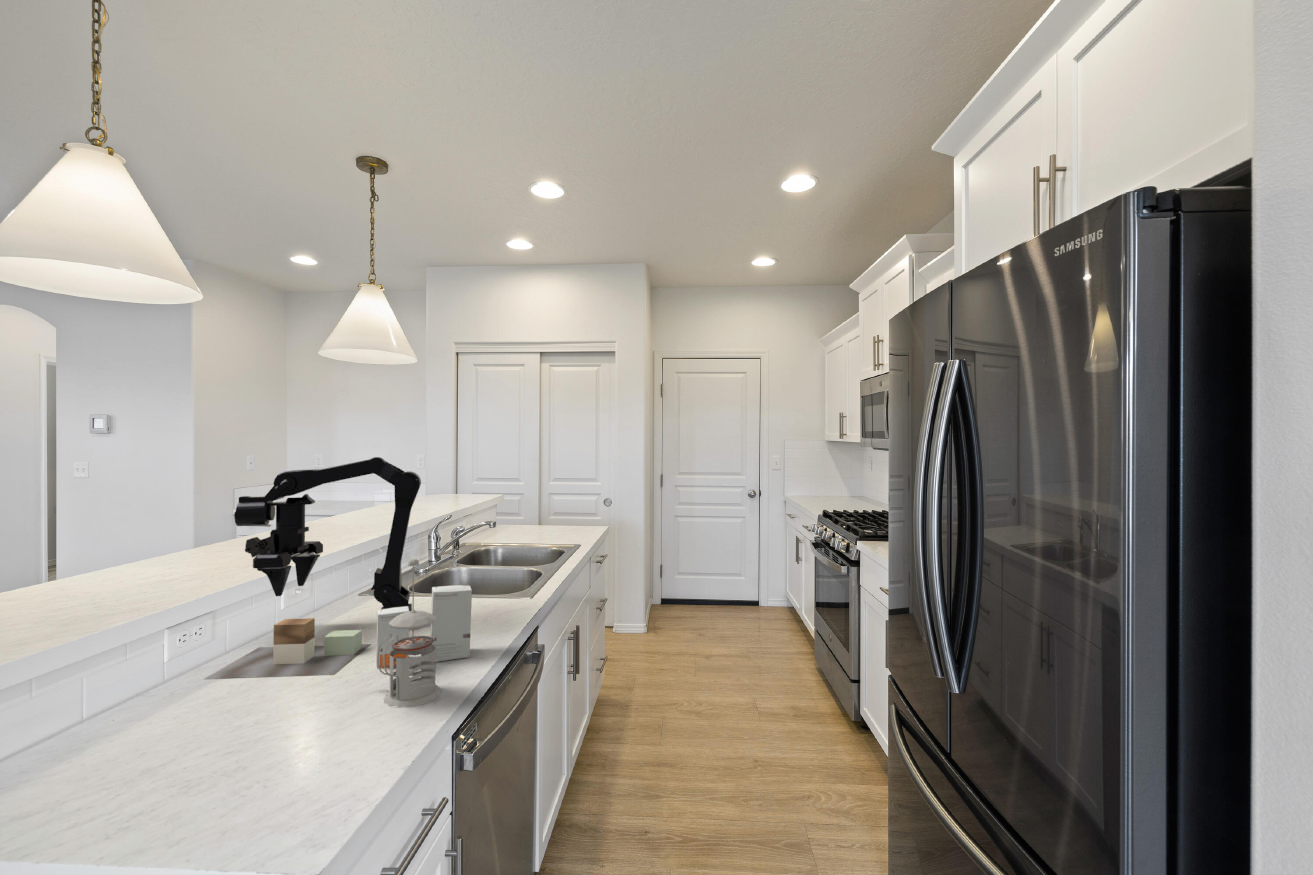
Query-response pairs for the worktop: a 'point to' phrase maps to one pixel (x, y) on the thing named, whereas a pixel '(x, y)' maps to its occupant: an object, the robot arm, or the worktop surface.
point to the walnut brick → (294, 631)
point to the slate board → (283, 665)
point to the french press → (411, 660)
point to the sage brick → (342, 642)
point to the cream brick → (293, 653)
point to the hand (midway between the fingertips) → (290, 590)
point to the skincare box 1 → (384, 629)
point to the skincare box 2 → (451, 621)
